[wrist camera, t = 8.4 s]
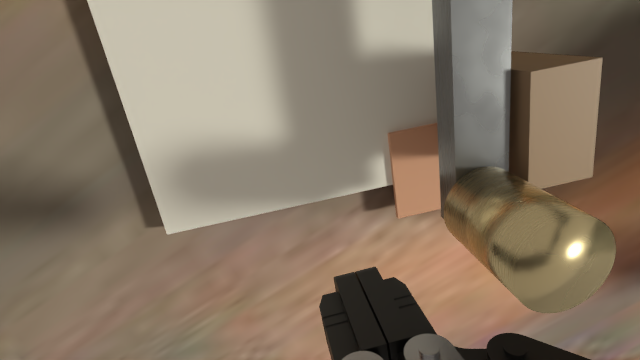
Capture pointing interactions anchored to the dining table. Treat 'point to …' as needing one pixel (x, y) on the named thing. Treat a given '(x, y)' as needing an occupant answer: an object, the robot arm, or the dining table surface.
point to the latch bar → (503, 170)
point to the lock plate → (316, 104)
